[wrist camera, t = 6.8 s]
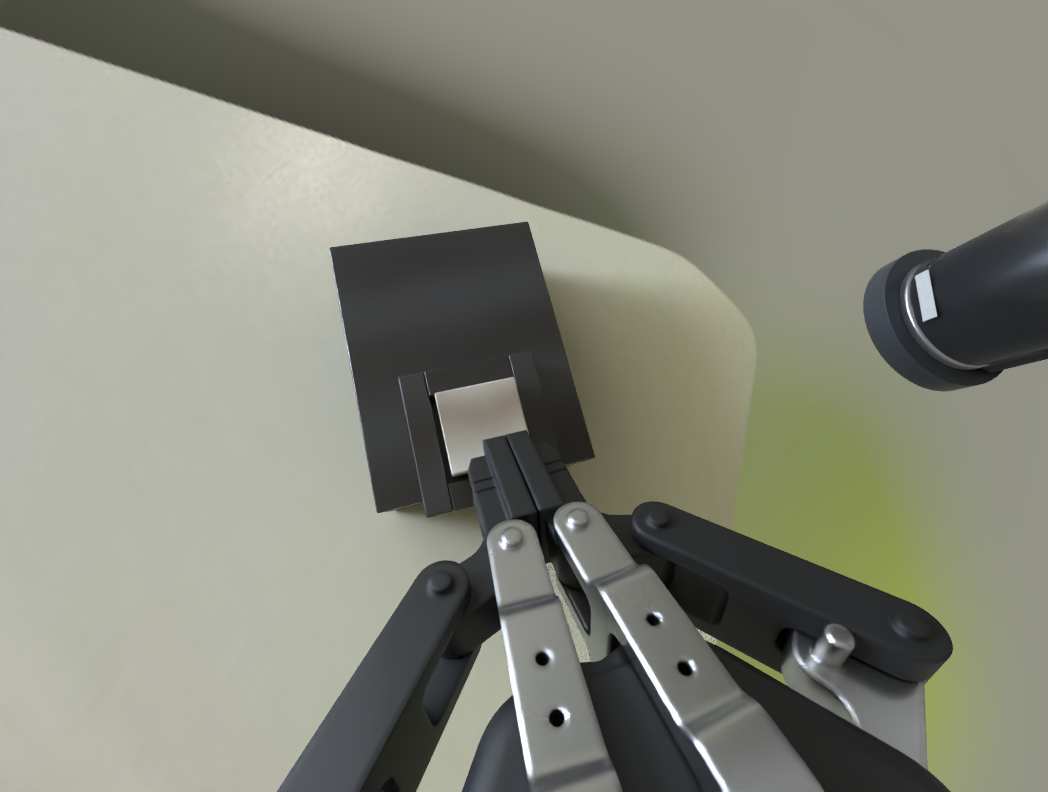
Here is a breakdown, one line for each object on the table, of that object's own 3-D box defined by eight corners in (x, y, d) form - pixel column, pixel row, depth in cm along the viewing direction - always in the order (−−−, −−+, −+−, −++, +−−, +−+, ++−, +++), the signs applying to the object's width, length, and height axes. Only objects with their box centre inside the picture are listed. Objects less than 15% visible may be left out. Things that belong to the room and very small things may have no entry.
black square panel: (573, 477, 27) (612, 469, 20) (394, 524, 25) (372, 532, 18) (516, 267, 30) (533, 200, 23) (351, 293, 28) (318, 226, 21)
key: (528, 458, 20) (534, 454, 19) (452, 477, 20) (452, 475, 18) (509, 386, 21) (514, 376, 19) (436, 401, 20) (434, 392, 19)
